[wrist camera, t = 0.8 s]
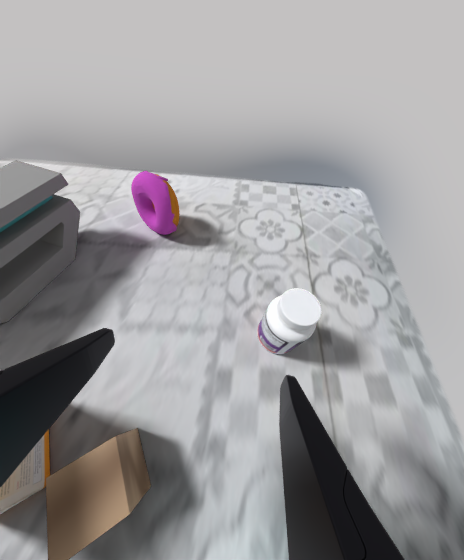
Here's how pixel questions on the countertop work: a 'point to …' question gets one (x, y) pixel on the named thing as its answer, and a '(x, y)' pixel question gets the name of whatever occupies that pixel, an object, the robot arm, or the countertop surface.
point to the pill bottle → (289, 321)
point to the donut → (156, 202)
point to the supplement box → (27, 476)
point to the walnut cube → (94, 494)
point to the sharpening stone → (32, 233)
